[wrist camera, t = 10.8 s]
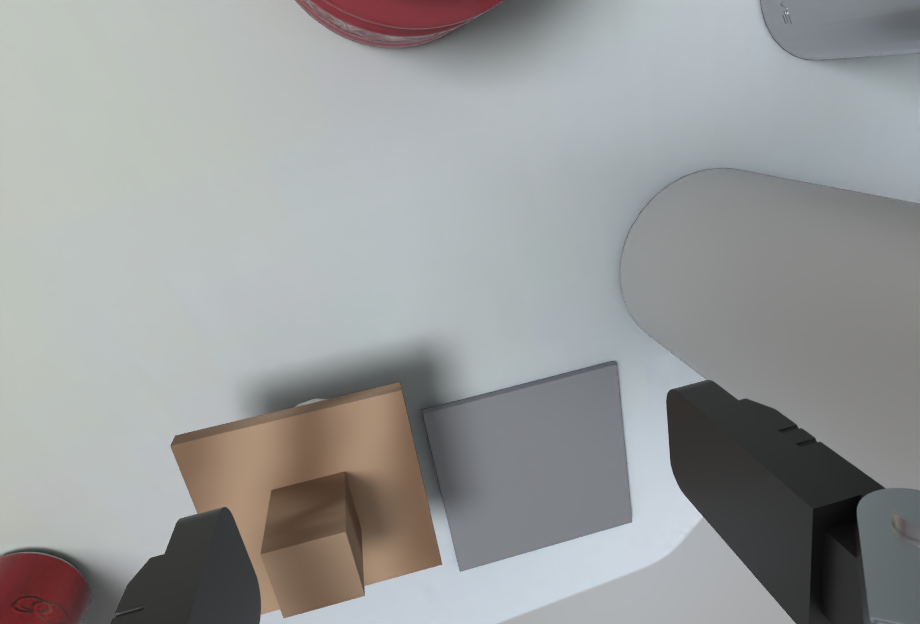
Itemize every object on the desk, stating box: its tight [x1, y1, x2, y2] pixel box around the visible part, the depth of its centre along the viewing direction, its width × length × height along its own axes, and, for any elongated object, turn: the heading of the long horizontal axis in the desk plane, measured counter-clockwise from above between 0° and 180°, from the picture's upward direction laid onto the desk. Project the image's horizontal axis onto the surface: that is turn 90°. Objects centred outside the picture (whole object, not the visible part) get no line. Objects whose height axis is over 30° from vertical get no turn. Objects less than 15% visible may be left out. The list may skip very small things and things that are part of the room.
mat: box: [422, 361, 632, 572], centre depth 45 cm, size 14×14×1 cm
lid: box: [171, 382, 442, 618], centre depth 32 cm, size 12×12×6 cm
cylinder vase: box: [620, 168, 920, 490], centre depth 31 cm, size 12×12×25 cm
